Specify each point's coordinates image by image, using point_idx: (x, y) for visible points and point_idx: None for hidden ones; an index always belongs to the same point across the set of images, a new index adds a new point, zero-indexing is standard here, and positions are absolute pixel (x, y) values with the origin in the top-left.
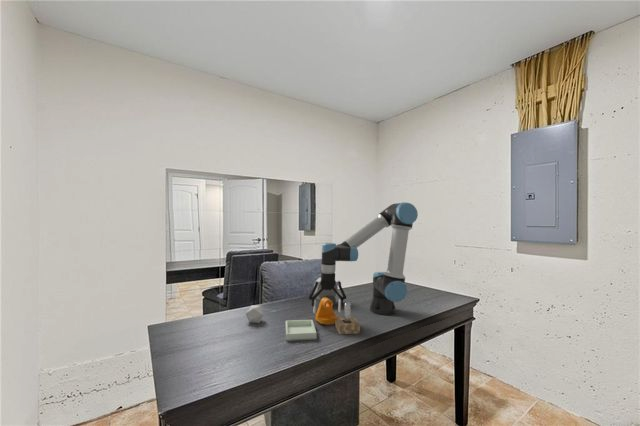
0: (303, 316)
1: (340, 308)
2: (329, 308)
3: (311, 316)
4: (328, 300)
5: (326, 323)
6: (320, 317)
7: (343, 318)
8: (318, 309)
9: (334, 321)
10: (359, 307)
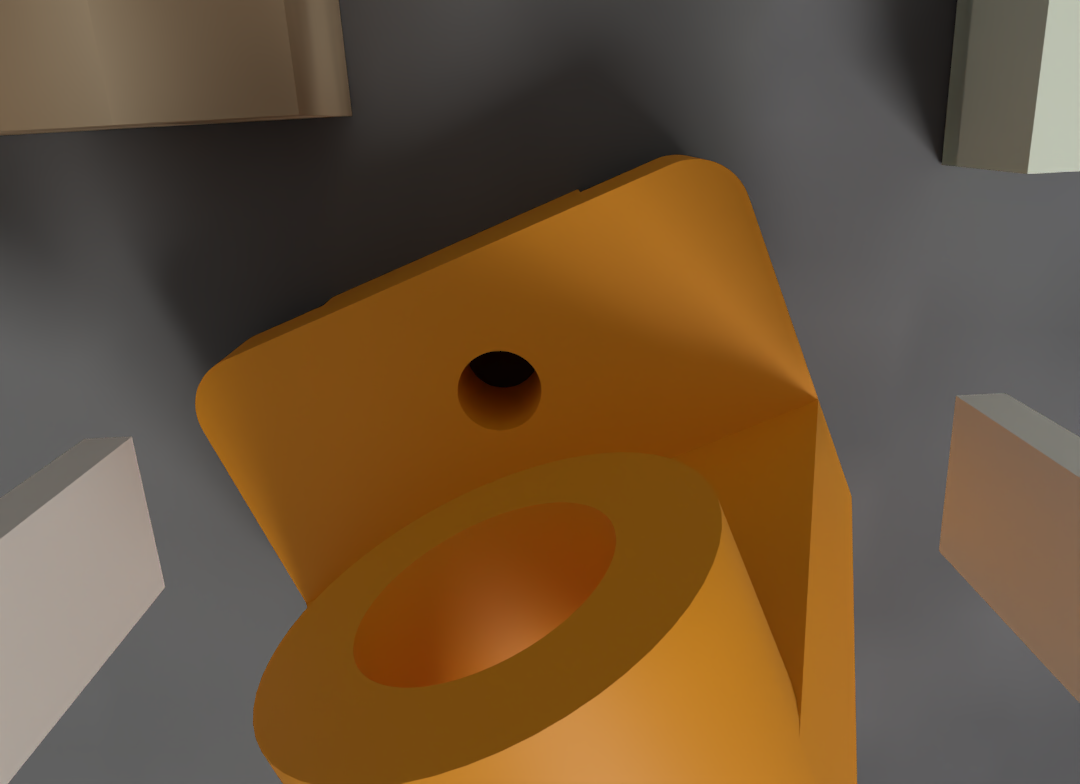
0: (1020, 709)
1: (9, 505)
2: (457, 518)
3: None
4: (493, 722)
5: (577, 192)
6: (731, 395)
7: (17, 53)
8: (839, 589)
9: (351, 292)
10: None
